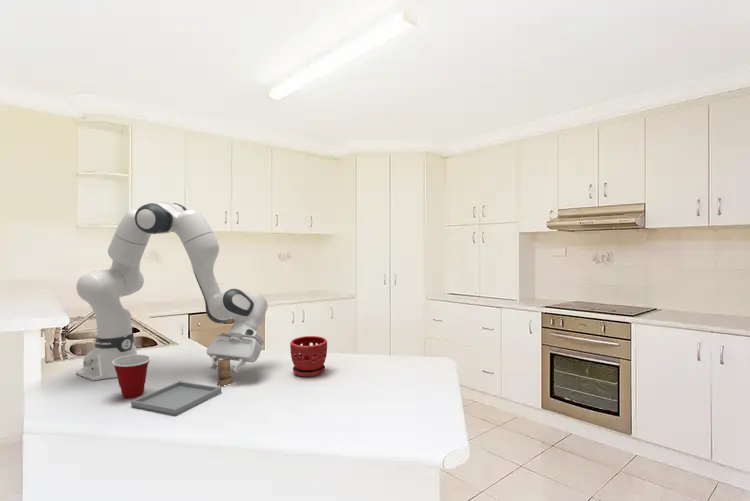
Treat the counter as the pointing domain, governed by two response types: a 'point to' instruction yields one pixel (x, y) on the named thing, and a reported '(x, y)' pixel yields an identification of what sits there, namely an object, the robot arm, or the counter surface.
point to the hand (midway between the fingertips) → (223, 370)
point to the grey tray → (176, 398)
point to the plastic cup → (131, 374)
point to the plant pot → (308, 355)
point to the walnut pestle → (224, 372)
